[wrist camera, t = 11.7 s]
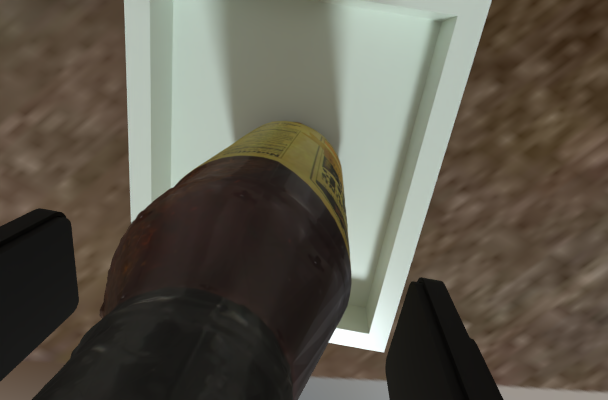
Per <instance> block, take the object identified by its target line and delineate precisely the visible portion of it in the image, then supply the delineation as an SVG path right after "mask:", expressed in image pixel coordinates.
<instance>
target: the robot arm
mask: <svg viewBox="0 0 608 400" xmlns="http://www.w3.org/2000/svg"><path fill="white" fill-rule="evenodd" d="M78 302H79V297H78V287H77V277H76V267H75V258H74V248H73V238H72V228H71V222H70V221H69V220H68V219H66V216H65V215H64V214H63V213H62V212H57V211H52V210H46V209H36V210H33V211H31V212H29V213H27V214H25V215H23V216H21V217H19V218H17V219H15V220H13V221H11V222H9V223H7V224H5V225H3V226H0V381H1V380H2V379H3V378H4V377H6V376H7V375H8V374H9V373H10V372H11V371H12V370H13V369H14V368H15V367H16V366H17V365H18V364H19V363H20V362H21V361H23V360H24V359H25V358H26V357H27V356H28V355H29V354H30V353H31V352H32V351H33V350H34V349H35V348H36V347H37V346H38V345H39V344H41V343H42V342H43V341H44V340H45V339H46V338H47V337H48V336H49V335H50V334H51V333H52V332H53V331H54V330H55V329H56V328H57V327H59V326H60V325H61V324H62V323H63V322H64V321H65V320H66V319H67V318H68V317H69V316H70V315H71V314H72V313H73V312H74V311H75V309H76V308H77V305H78ZM386 378H387V384H388V391H389V398H390V400H503V398H502V396H501V394H500V392H499V390H498V387H497V385H496V383H495V381H494V379H493V377H492V375H491V373H490V371H489V369H488V367H487V365H486V363H485V361H484V358H483V356H482V354H481V352H480V350H479V348H478V346H477V344H476V343H475V341H474V340H473V339H471V338H469V335H468V333H467V331H466V329H465V327H464V325H463V323H462V321H461V318H460V316H459V314H458V312H457V310H456V308H455V306H454V304H453V301H452V299H451V297H450V295H449V293H448V291H447V289H446V286H445V284H444V283H443V282H442V281H438V280H432V279H427V278H419V279H418V281H417V282H413V281H412V282H411V283H410V285H409V288H408V291H407V295H406V298H405V301H404V304H403V307H402V311H401V314H400V317H399V320H398V323H397V326H396V330H395V333H394V336H393V339H392V342H391V346H390V349H389V352H388V355H387V359H386Z"/></svg>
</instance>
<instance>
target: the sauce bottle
mask: <svg viewBox="0 0 608 400" xmlns="http://www.w3.org/2000/svg"><path fill="white" fill-rule="evenodd" d="M351 284H352V278H351V261H350V248H349V238H348V224H347V216H346V207H345V196H344V185H343V175H342V167H341V163H340V160H339V158H338V155H337V153H336V152H335V150H334V148H333V147H332V145H331V144H330V143H329V142H328V140H327V139H326V138H325V137H324V136H323V135H321V134H320V133H319V132H317V131H316V130H314V129H312V128H310V127H308V126H306V125H304V124H302V123H299V122H290V121H273V122H270V123H267V124H264V125H262V126H260V127H258V128H256V129H254V130H253V131H251V132H250V133H248V134H247V135H245V136H243V137H242V138H240V139H239V140H237V141H236V142H235V143H233V144H232V145H230V146H229V147H227V148H226V149H224V150H223V151H221V152H219V153H218V154H216V155H215V156H213V157H212V158H210V159H209V160H207V161H206V162H204V163H203V164H201V165H199V166H198V167H196V168H195V169H193V170H192V171H191V172H189V173H188V174H187V175H185V176H184V177H183V178H182V179H181V180H180V181H179V182H178V183H177V184H176V185H175V186H174V187H173V188H170V189H169V190H167V191H166V192H165V193H163V194H162V195H161V196H159V197H158V198H157V199H155V200H154V201H153V202H152V203H151V204H150V205H148V206H147V207H146V208H145V209H144V210H143V211H141V212H140V213H139V214H138V215H137V217H136V219H135V220H134V221H133V222H132V223H131V225H130V226H129V228H128V229H127V231H126V233H125V234H124V236H123V237H122V238H121V241H120V243H119V246H118V248H117V249H116V251H115V254H114V256H113V258H112V262H111V267H110V269H109V271H108V277H107V284H106V290H105V295H104V303H103V305H102V307H101V309H100V317H101V318H102V320H101V321H99V322H98V323H97V324H96V325H94V326H93V327H92V328H91V329H90V330H89V331H88V332H87V333H86V334H85V335H84V336H83V338H82V339H81V341H80V344H79V345H78V346H77V347H76V348H75V349H74V350H73V352H72V354H71V358H70V360H69V361H68V362H67V363H66V364H65V365H64V367H63V368H62V369H61V370H60V371H59V372H58V373H57V374H56V375H55V376H54V377H53V378H52V379H51V380H50V381H49V382H48V383H47V384H46V385H45V386H44V387H43V388H42V389H41V391H40V392H39V393H38V394H37V395H36V396H35V397H34V398H33V399H32V400H298V398H299V396H300V394H301V393H302V391H303V389H304V387H305V385H306V383H307V382H308V380H309V378H310V376H311V374H312V372H313V370H314V369H315V367H316V365H317V363H318V361H319V359H320V357H321V356H322V354H323V352H324V350H325V348H326V346H327V344H328V342H329V340H330V339H331V337H332V335H333V333H334V331H335V329H336V327H337V326H338V324H339V322H340V320H341V318H342V316H343V314H344V312H345V310H346V308H347V306H348V302H349V298H350V293H351Z"/></svg>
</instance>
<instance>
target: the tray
mask: <svg viewBox="0 0 608 400" xmlns="http://www.w3.org/2000/svg"><path fill="white" fill-rule="evenodd" d="M491 1H492V0H124V11H125V43H126V76H127V108H128V140H129V172H130V204H131V223H132V222H133V221H134V220H135V219H136V217H137V215H138V214H139V213H140V212H141V211H143V210H144V209H145V208H146V207H147V206H148V205H150V204H151V203H152V202H153V201H154V200H155V199H157V198H158V197H159V196H161V195H162V194H163V193H165V192H166V191H167V190H169V189H170V188H173V187H174V186H175V185H176V184H177V183H178V182H179V181H180V180H181V179H182V178H183V177H184V176H185V175H187V174H188V173H189V172H191V171H192V170H193V169H195V168H196V167H198V166H199V165H201V164H203V163H204V162H206V161H207V160H209V159H210V158H212V157H213V156H215V155H216V154H218V153H219V152H221V151H223V150H224V149H226V148H227V147H229V146H230V145H232V144H233V143H235V142H236V141H237V140H239V139H240V138H242V137H243V136H245V135H247V134H248V133H250V132H251V131H253V130H254V129H256V128H258V127H260V126H262V125H264V124H267V123H270V122H273V121H290V122H299V123H302V124H304V125H306V126H308V127H310V128H312V129H314V130H316V131H317V132H319V133H320V134H321V135H323V136H324V137H325V138H326V139H327V140H328V142H329V143H330V144H331V145H332V147H333V148H334V150H335V152H336V153H337V155H338V158H339V160H340V163H341V167H342V175H343V185H344V196H345V207H346V216H347V224H348V238H349V248H350V261H351V278H352V284H351V293H350V298H349V302H348V306H347V308H346V310H345V312H344V314H343V316H342V318H341V320H340V322H339V324H338V326H337V327H336V329H335V331H334V333H333V335H332V337H331V339H330V340H329V343H335V344H340V345H346V346H351V347H357V348H363V349H368V350H374V351H379V352H384V350H385V347H386V344H387V341H388V337H389V334H390V331H391V327H392V324H393V321H394V318H395V314H396V311H397V308H398V305H399V301H400V298H401V295H402V292H403V288H404V285H405V282H406V278H407V275H408V272H409V269H410V265H411V262H412V259H413V256H414V252H415V249H416V246H417V243H418V239H419V236H420V233H421V229H422V226H423V223H424V220H425V216H426V213H427V210H428V207H429V203H430V200H431V197H432V194H433V190H434V187H435V184H436V181H437V177H438V174H439V171H440V167H441V164H442V161H443V158H444V154H445V151H446V148H447V145H448V141H449V138H450V135H451V132H452V128H453V125H454V122H455V118H456V115H457V112H458V109H459V105H460V102H461V99H462V96H463V92H464V89H465V86H466V83H467V79H468V76H469V73H470V69H471V66H472V63H473V60H474V56H475V53H476V50H477V47H478V43H479V40H480V37H481V34H482V30H483V27H484V24H485V20H486V17H487V14H488V11H489V7H490V4H491Z"/></svg>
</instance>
